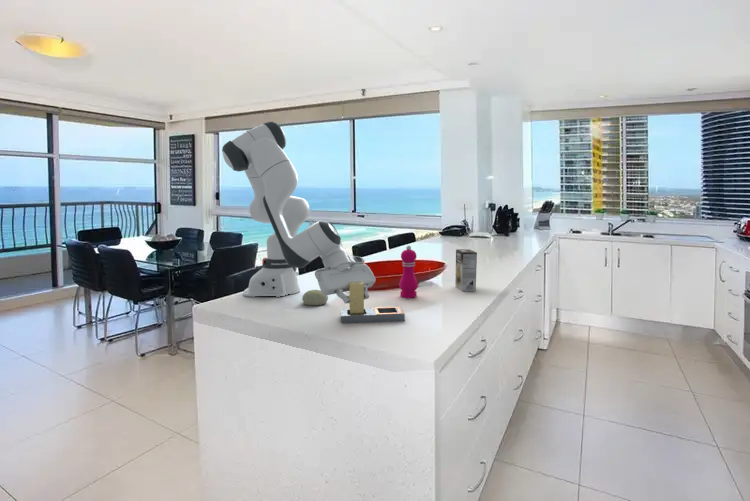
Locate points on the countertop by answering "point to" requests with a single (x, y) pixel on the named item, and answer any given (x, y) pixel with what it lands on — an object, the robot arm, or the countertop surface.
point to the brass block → (356, 298)
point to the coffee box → (466, 269)
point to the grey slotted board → (374, 315)
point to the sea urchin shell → (314, 298)
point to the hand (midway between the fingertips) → (357, 300)
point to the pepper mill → (408, 274)
